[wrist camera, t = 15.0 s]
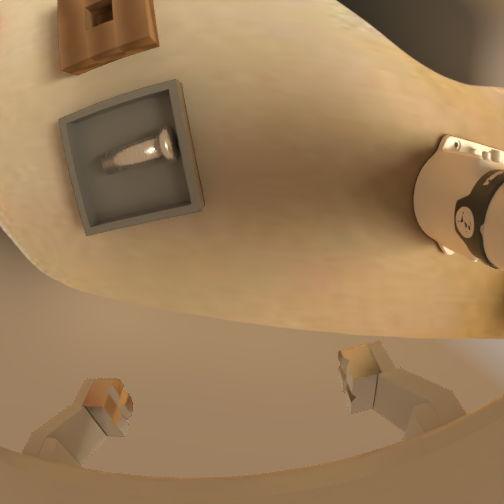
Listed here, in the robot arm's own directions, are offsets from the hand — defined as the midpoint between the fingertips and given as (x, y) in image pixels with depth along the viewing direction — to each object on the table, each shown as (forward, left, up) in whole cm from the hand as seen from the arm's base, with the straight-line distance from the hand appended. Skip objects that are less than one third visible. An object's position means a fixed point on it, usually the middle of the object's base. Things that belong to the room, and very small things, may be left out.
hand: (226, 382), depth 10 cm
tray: (+12, -8, -31) cm, 34 cm away
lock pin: (+15, -8, -29) cm, 33 cm away
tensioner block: (+12, -28, -31) cm, 44 cm away
